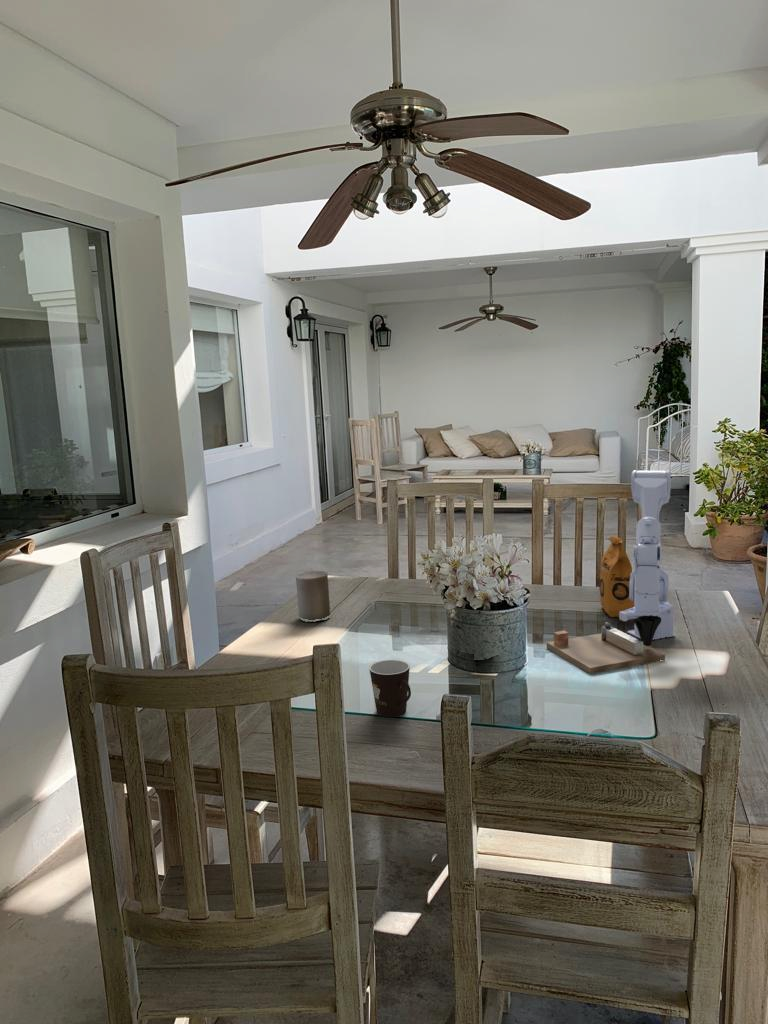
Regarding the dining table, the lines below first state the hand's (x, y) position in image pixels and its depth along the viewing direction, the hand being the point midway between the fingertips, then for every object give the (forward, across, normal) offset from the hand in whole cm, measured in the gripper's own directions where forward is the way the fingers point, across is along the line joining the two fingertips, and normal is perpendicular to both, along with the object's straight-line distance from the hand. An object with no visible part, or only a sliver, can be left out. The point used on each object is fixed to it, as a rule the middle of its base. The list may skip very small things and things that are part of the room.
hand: (646, 644), depth 195 cm
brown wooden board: (+3, -9, +5) cm, 10 cm away
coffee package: (+3, +15, +33) cm, 36 cm away
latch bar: (+1, -4, +4) cm, 6 cm away
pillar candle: (+3, -68, +68) cm, 96 cm away
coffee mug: (+3, -70, -7) cm, 70 cm away
